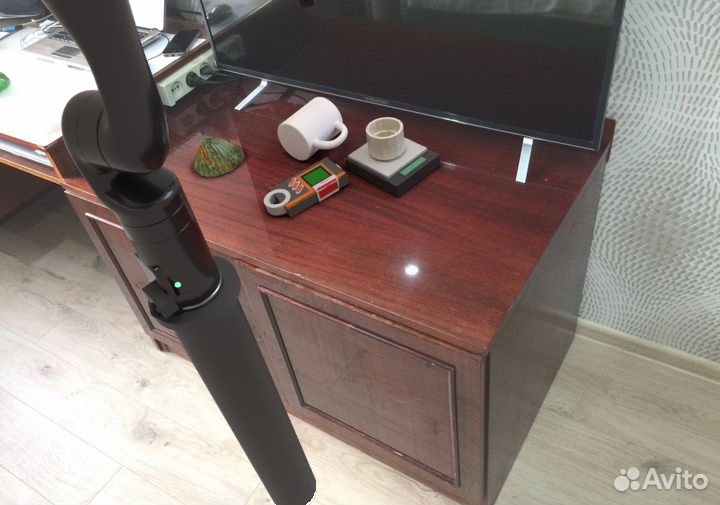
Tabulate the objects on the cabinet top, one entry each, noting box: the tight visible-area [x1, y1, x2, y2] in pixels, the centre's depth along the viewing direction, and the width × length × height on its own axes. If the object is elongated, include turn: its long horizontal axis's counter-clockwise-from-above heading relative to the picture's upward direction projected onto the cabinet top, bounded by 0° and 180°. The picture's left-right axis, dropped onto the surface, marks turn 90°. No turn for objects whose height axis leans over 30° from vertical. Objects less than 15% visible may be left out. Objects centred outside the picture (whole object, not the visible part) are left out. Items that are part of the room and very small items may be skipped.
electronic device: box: [263, 156, 350, 218], centre depth 104 cm, size 7×3×15 cm
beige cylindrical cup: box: [365, 116, 405, 160], centre depth 104 cm, size 6×6×5 cm
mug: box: [277, 96, 349, 161], centre depth 111 cm, size 12×10×8 cm
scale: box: [344, 137, 441, 198], centre depth 106 cm, size 11×13×3 cm
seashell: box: [192, 136, 245, 178], centre depth 114 cm, size 10×4×10 cm
